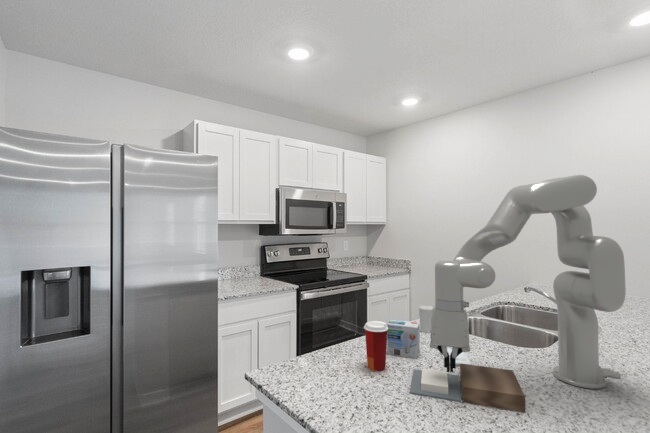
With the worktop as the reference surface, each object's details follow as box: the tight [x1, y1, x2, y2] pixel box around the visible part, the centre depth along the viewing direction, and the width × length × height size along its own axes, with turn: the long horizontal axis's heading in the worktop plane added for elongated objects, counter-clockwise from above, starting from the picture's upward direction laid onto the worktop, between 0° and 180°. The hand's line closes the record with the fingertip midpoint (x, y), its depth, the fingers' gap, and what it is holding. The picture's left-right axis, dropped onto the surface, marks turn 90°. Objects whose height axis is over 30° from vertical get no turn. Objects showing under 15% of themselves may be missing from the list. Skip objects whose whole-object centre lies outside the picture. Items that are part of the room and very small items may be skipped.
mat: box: [409, 368, 462, 403], centre depth 94 cm, size 13×15×1 cm
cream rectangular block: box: [421, 367, 448, 395], centre depth 94 cm, size 7×10×2 cm
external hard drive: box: [439, 348, 473, 367], centre depth 113 cm, size 2×8×12 cm
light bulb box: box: [386, 318, 421, 360], centre depth 118 cm, size 11×7×11 cm, turn 68°
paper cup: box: [363, 320, 388, 373], centre depth 106 cm, size 8×8×14 cm
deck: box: [459, 364, 526, 413], centre depth 90 cm, size 14×15×4 cm
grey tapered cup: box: [418, 305, 434, 334], centre depth 142 cm, size 7×7×10 cm
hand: (449, 370), depth 93 cm, fingers closed
